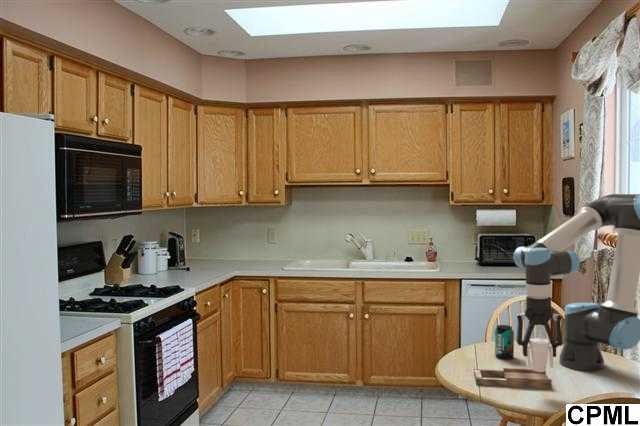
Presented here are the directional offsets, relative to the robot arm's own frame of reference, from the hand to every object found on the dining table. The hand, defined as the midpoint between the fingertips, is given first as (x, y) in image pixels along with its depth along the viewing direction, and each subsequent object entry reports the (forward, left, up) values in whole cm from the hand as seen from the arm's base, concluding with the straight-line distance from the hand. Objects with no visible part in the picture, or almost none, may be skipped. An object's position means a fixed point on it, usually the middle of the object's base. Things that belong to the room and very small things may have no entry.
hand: (539, 366), depth 178 cm
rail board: (+8, -9, -9) cm, 15 cm away
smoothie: (0, 0, -2) cm, 2 cm away
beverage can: (+7, -36, -9) cm, 38 cm away
